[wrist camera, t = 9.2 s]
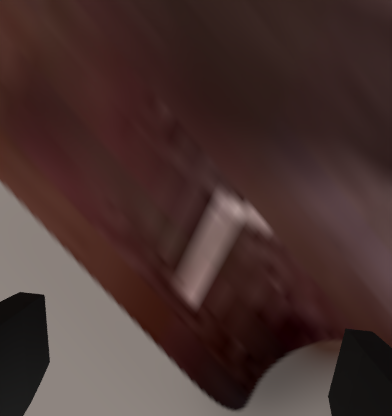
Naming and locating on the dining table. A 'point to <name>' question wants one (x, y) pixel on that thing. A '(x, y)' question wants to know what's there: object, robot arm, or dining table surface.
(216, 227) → the dining table surface
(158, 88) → the dining table surface
